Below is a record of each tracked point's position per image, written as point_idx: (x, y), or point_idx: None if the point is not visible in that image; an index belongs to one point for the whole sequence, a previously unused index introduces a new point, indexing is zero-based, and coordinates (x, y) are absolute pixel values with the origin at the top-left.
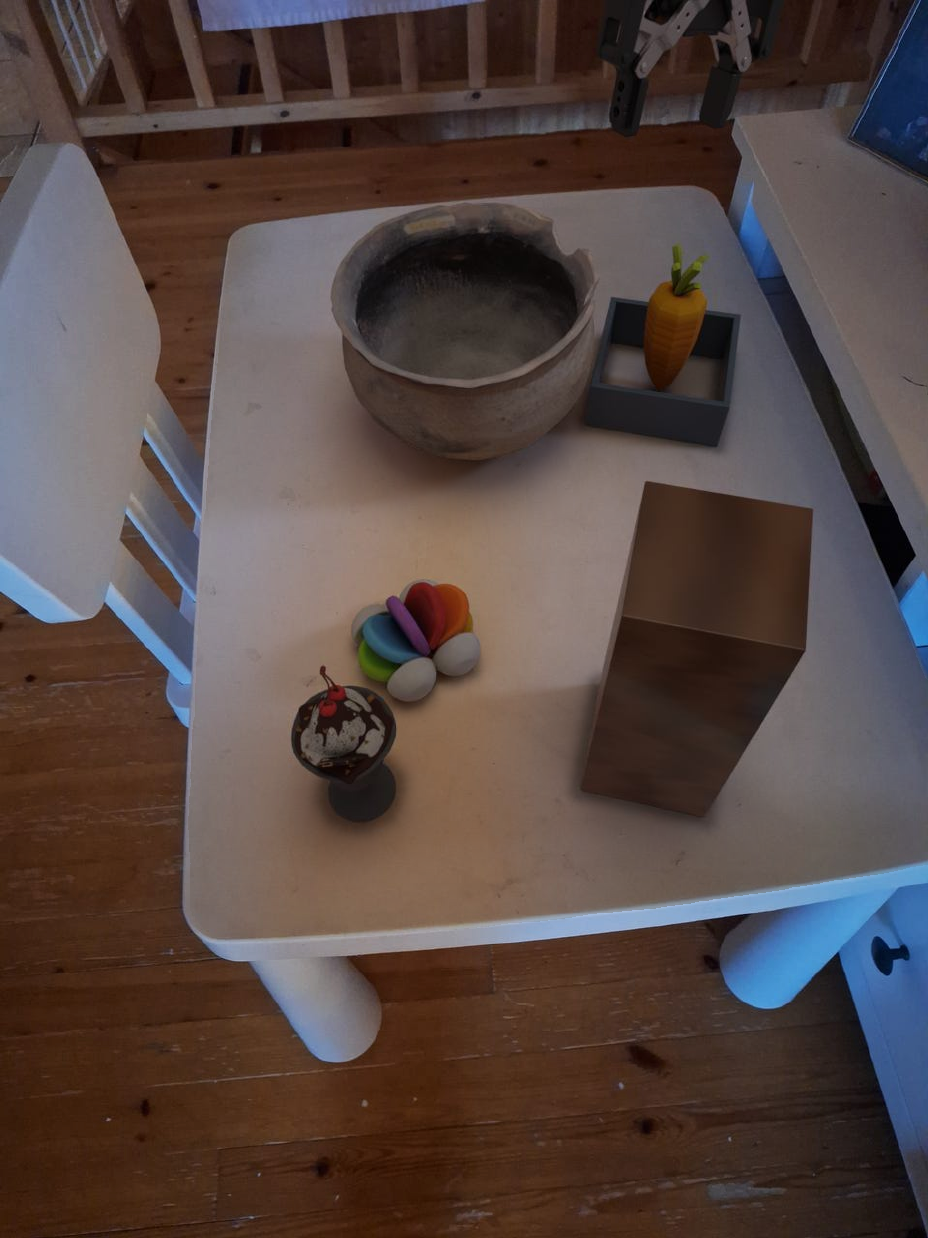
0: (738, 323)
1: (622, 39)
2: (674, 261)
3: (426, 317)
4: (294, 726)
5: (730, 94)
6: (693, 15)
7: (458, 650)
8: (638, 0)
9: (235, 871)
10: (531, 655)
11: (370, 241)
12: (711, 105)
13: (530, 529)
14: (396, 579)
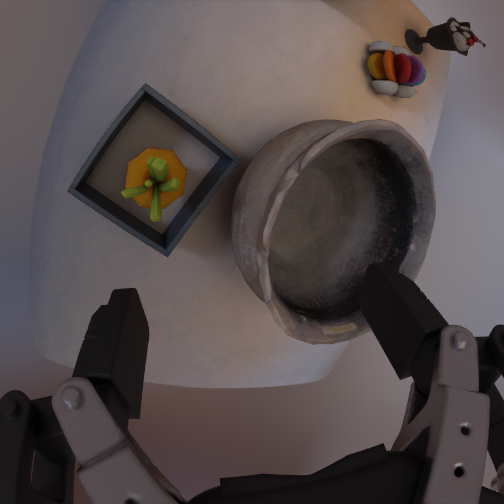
0: (75, 180)
1: None
2: (160, 204)
3: (309, 281)
4: (467, 51)
5: (108, 335)
6: (436, 481)
7: (390, 45)
8: None
9: (443, 53)
10: (342, 32)
11: None
12: (138, 337)
13: (307, 95)
14: (377, 112)
